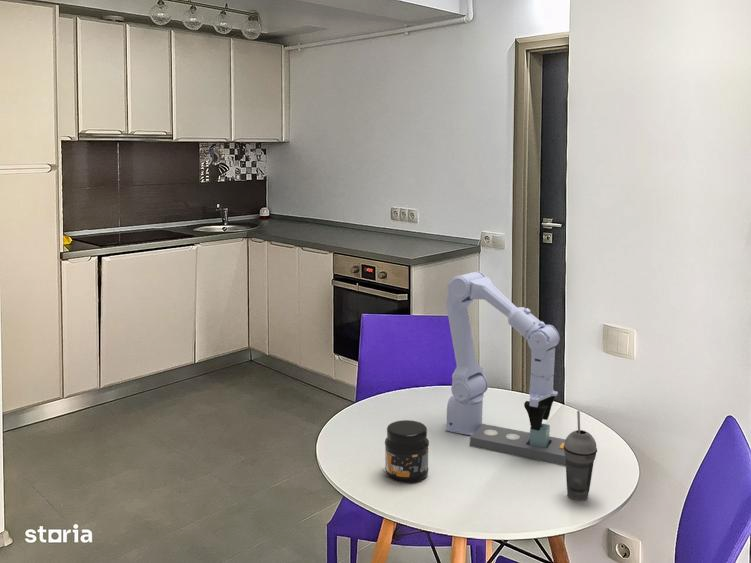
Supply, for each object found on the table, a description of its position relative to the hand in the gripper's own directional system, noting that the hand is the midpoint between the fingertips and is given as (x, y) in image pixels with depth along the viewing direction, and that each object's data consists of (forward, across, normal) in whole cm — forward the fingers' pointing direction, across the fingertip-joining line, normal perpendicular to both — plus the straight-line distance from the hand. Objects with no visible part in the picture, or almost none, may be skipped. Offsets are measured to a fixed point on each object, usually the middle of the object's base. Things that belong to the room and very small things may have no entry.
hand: (539, 424), depth 183 cm
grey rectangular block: (+8, 0, 0) cm, 8 cm away
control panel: (+8, 0, +4) cm, 8 cm away
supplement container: (+8, -27, +25) cm, 38 cm away
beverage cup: (+8, -19, -14) cm, 25 cm away
